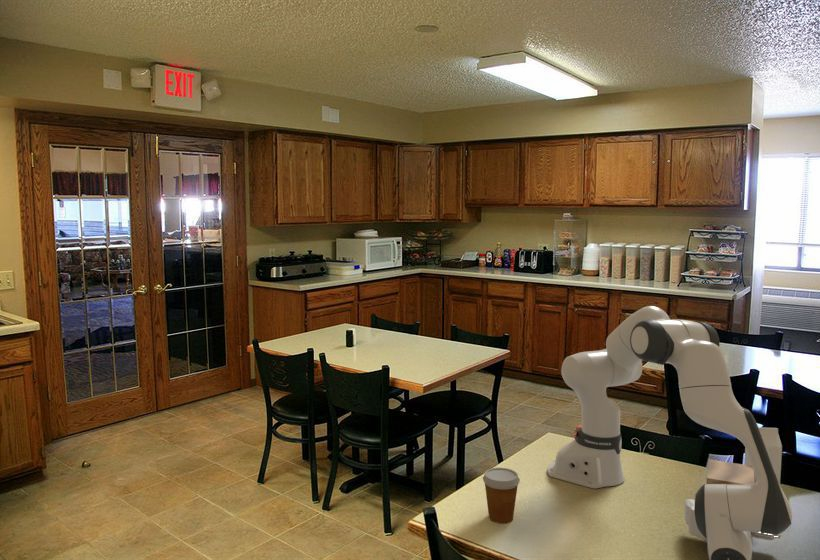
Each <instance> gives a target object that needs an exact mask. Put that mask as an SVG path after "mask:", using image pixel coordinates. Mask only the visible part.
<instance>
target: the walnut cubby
mask: <svg viewBox="0 0 820 560" xmlns="http://www.w3.org/2000/svg"><path fill="white" fill-rule="evenodd" d="M706 484H727V485H752V484H755V483H754V470H753V467H752V466H749V465H744V464H742V463H735V462H729V461H723V460H716V459H710V458H709V459H708V464H707V472H706Z"/></svg>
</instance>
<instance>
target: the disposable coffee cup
mask: <svg viewBox="0 0 820 560" xmlns="http://www.w3.org/2000/svg"><path fill="white" fill-rule="evenodd" d="M520 480H521V479H520V477H519V475H518V472H516V471H515V470H513V469H510V468H508V467H507V468H506V467H492V468H489V469H487V470H485V472H484V474H483V477H482V481H483V482H484V486H485V496H486V502H487V503H486V504H487V505H486V506H487V511H488V520H490V521H491V522H493V523H494V524H495V523H496V524H500V525H503V524H510V523H511V522H513V520H514V514H515V513H514V512H515V507H516V499H517V492H518V486H519V484H520Z"/></svg>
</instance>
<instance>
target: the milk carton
mask: <svg viewBox="0 0 820 560" xmlns="http://www.w3.org/2000/svg"><path fill="white" fill-rule="evenodd" d="M758 428H759V431H760V434H761V435H762V438H763V440H764V443H765V446H766V449H767V451H768V454H769V457H770V460H771V463H772V465H773V468H774V471H775V473H776V477H777V480H778V483H779V485H780V486H781V476H782V475H781V473H782V472H781V471H782V455H783V453H782V452H783V444H782V441H781V439H780V435H779V428H777V427H761V426H758ZM743 465H749V466H752V464H751V461H750V458H749V456H748V453H747V450H746V448H744V464H743ZM756 482H757V478H756V475H755V473H754V483H756Z"/></svg>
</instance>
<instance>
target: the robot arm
mask: <svg viewBox="0 0 820 560" xmlns="http://www.w3.org/2000/svg"><path fill="white" fill-rule="evenodd" d="M642 361H644V362H648V363H652V364H657V365H661V366H663V365H665V364H670V365H672V366H673V367H674V368H675V370H676V372H677V378H678V388H679V396H680V400H681V404H682V407H683V411H684V412H685V414H686V415H687V416H688V418H690V420H692V421H694V423H696V424H698V425H700V426H702V427H706V428H708V429H710V430H711V429H712V430H715V431H718V432H722V433H724V434H727V435H730V436H732V437H734V438H736V439H737V440H739V441H740V442H741V443H742V444H743V446H744V447H745V448H746V450H747V453H748V456H749V458H750V461H751V464H752V467H753V470H754V473H755V475H756V478H757V482H756V483H755V484H752V485H727V484H707V483H706V484H703V485H701V486H700V487H699V489H698V490H697V491H696V492H695V496H694V499H692V498H687V499H685V501H684V520H685V524H686V525H687V526H688V533H689V534H690V535H691V536H694V537H697V538H699V539H702V540H704V541H706V544H707V545H706V547H707V549H706V550H707V555H708V559H709V560H752V559H753V544H752V539H753V538H755V539H759V540H764V541H765V540H766V541H774V540H775V539H781V537H782V533H783V532H784V531H786V530H787V529H788V528H789V527H790V526H791V525H792V519H793V514H792V513H793V512H792V508H791V507H792V506H791V505H790V502H789V499H788V498H787V496H786V494H785V492H784V490H783V488H782V486H781V484H780V485H779V483H778V480H777V477H776V473H775V471H774V468H773V465H772V463H771V460H770V457H769V454H768V451H767V449H766V446H765V443H764V440H763V438H762V435H761V434H760V431H759V428H758V427H759V426H758V424H757V421H756V419H755V417H754V415H753V414H752V412H751V411H750V410H749V409H747V408H745V407H743V406H741V404H740V403H739V402H738V400H737V399H736V397H735V395H734V391H733V388H732V382H731V377H730V373H729V369H728V365H727V362H726V359H725V356H724V354H723V351H722V349H721V348H720V337H719V334H718V332H717V330H716V328H715V327H714V326H712V325H711V324H708V323H705V322H702V321H698V320H686V319H678V318H677V319H676V318H673V319H671V318H670V315H668V314H667V312H666V311H664V310H663V309H662V308H660V307H658V306H654V305H648V306H644V307H641V308H640V309H638V310H637V311H635V312H633V313H631V314H630V316H628V317H627V318H625V320H623V321H622V322H620V324H619V325H618V326H617V327H616V328H614V329H613V331H612V332H610V333H609V335H608V336H607V338H606V341H605V348H603V349H599V350H590V351H589V350H588V351H582V352H577V353H575V354H574V353H573V354H572V355H569V356H567V357H565V358H564V360H563V362H562V363H561V372H560V373H561V376H562V379H563V381H564V383H565V384H566V385H567V386H568V387H569V388H571V389H572V390H573V391H574V392H575V394H576V395H577V397H578V399H579V404H580V407H581V408H580V410H581V424H579V425H577V426H576V428H575V431H574V436H573V437H574V440H571V441H570V442H568V443H567V444H564V445H563V446H561V448H559V450H558V452H557V453H556V457H555V460H553V461H551V462H550V463H549V465H548V467H547V471H546V473H547V476H549V477H551V478H555V479H558V480H562V481H565V482H569V483H573V484H576V485H579V486H583V487H587V488H590V489H595V490H597V489H599V488H604V487H613V486H615V487H616V486H619V485H621V484H622V483H624V482H625V476H624V472H623V468H622V461H621V451H622V445H623V443H622V433H621V409H620V406H619V405H618V404H617V403H616V402H615V401H614V400H612V399H610V398H608V395H607V388H609V387H610V388H612V387H618V386H625V385H629V384H631V383H634V382H636V381H638V380H639V379H640V378H641V376H642V373H643V368H644V367H643V366H644V365H643V362H642ZM745 448H744V449H745Z"/></svg>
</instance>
